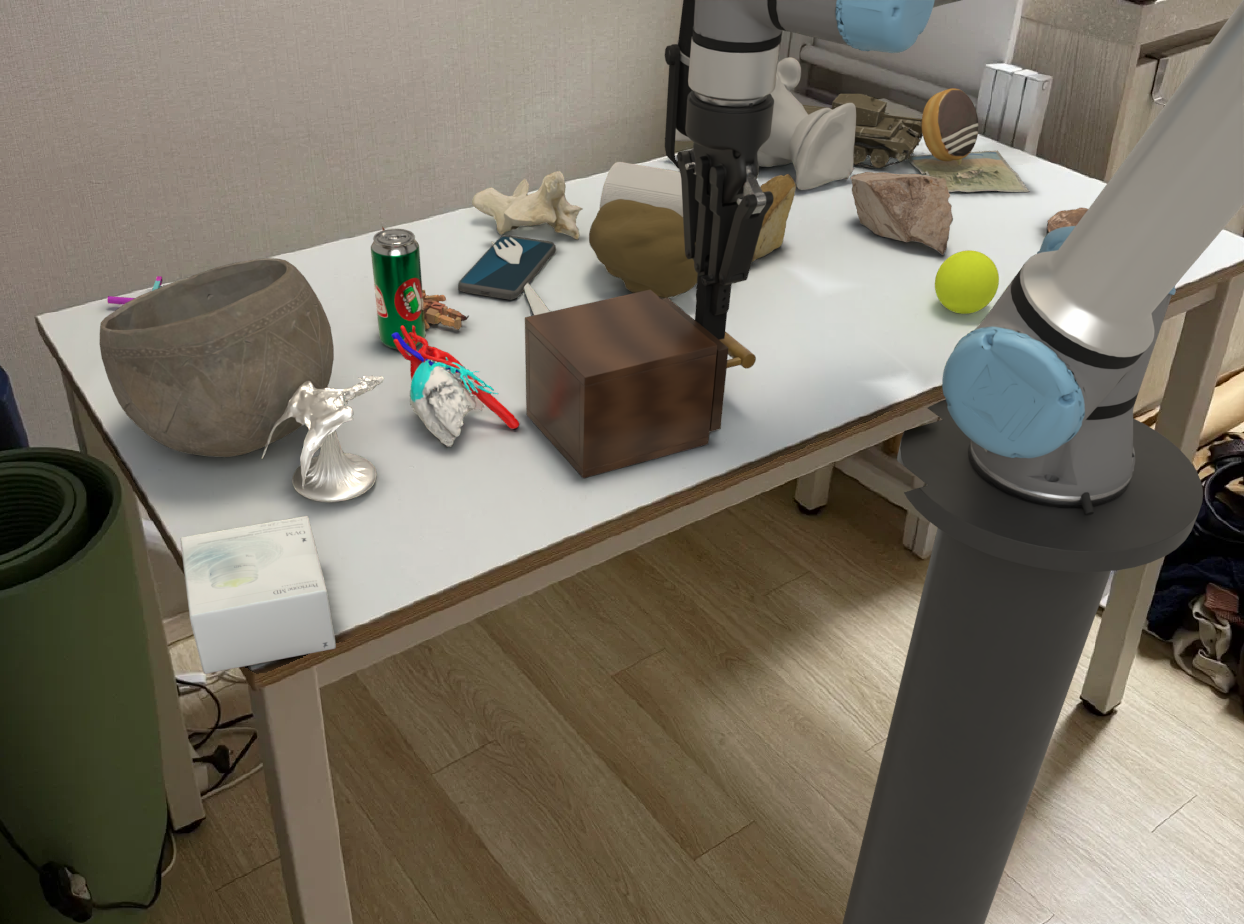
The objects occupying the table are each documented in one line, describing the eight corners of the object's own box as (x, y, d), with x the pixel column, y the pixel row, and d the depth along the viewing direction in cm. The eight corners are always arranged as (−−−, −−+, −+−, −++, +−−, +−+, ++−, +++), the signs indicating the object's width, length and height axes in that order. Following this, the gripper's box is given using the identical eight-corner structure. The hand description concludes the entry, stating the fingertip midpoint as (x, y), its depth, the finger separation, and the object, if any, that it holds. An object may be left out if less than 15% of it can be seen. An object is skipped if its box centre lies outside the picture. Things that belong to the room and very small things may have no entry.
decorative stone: (549, 242, 150) (591, 164, 148) (610, 277, 158) (651, 204, 156) (633, 294, 139) (680, 211, 137) (694, 329, 147) (739, 251, 145)
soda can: (380, 330, 142) (370, 227, 134) (425, 329, 142) (418, 225, 134) (379, 352, 138) (368, 247, 130) (426, 351, 138) (418, 246, 130)
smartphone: (558, 249, 158) (558, 242, 158) (515, 301, 147) (515, 294, 147) (501, 240, 160) (501, 233, 160) (455, 291, 149) (454, 284, 149)
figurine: (263, 488, 118) (247, 398, 112) (367, 440, 124) (357, 353, 118) (311, 524, 114) (297, 433, 108) (417, 473, 120) (409, 384, 114)
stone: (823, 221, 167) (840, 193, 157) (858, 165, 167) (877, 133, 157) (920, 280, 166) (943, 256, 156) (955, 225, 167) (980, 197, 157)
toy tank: (781, 130, 192) (788, 61, 185) (931, 152, 184) (943, 80, 178) (759, 151, 185) (766, 80, 178) (914, 175, 177) (926, 101, 171)
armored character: (449, 349, 141) (375, 324, 144) (477, 320, 145) (405, 296, 148) (444, 253, 132) (366, 228, 135) (475, 225, 136) (398, 202, 139)
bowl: (261, 485, 110) (195, 319, 104) (105, 487, 122) (36, 338, 115) (398, 390, 125) (348, 240, 118) (248, 400, 136) (194, 263, 129)
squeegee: (91, 343, 138) (139, 346, 139) (90, 336, 138) (138, 340, 139) (118, 278, 150) (162, 281, 151) (118, 272, 149) (161, 275, 150)
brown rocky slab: (1129, 270, 155) (1138, 242, 153) (1029, 243, 161) (1036, 216, 159) (1158, 238, 162) (1167, 211, 160) (1061, 214, 168) (1068, 187, 166)
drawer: (706, 364, 135) (712, 286, 129) (766, 416, 127) (776, 336, 121) (554, 402, 129) (554, 322, 123) (607, 459, 121) (610, 376, 115)
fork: (563, 323, 142) (565, 336, 143) (510, 223, 158) (512, 236, 160) (535, 330, 141) (537, 344, 143) (485, 230, 158) (487, 243, 159)
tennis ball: (1004, 317, 146) (1018, 259, 141) (956, 329, 143) (969, 271, 139) (964, 292, 150) (977, 235, 146) (916, 303, 148) (928, 246, 144)
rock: (744, 264, 150) (816, 238, 153) (720, 193, 149) (792, 169, 152) (710, 284, 161) (777, 260, 163) (687, 218, 160) (756, 195, 162)
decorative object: (609, 215, 156) (592, 139, 157) (513, 219, 151) (496, 141, 152) (573, 260, 167) (557, 189, 168) (483, 265, 163) (467, 192, 164)
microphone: (734, 180, 176) (756, -60, 156) (778, 225, 164) (808, -28, 145) (625, 191, 173) (634, -53, 153) (663, 238, 161) (677, -19, 142)
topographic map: (1029, 192, 174) (1032, 180, 173) (932, 195, 173) (935, 183, 172) (997, 154, 184) (1000, 142, 183) (905, 156, 183) (907, 145, 182)
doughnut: (978, 85, 176) (985, 160, 178) (956, 91, 179) (963, 165, 181) (935, 87, 171) (943, 164, 173) (913, 94, 174) (921, 170, 176)
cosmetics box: (307, 510, 104) (328, 590, 97) (317, 571, 109) (338, 651, 101) (177, 533, 102) (188, 617, 95) (192, 594, 106) (204, 679, 99)
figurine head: (881, 139, 181) (734, 51, 184) (896, 91, 167) (737, -2, 170) (810, 243, 180) (664, 153, 184) (819, 203, 167) (661, 108, 170)
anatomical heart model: (463, 479, 132) (352, 380, 128) (513, 421, 133) (404, 321, 129) (489, 471, 119) (367, 361, 116) (543, 407, 120) (424, 296, 117)
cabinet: (645, 384, 133) (650, 289, 126) (708, 444, 125) (717, 345, 118) (526, 414, 129) (524, 316, 122) (583, 478, 120) (584, 377, 113)
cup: (593, 212, 154) (687, 228, 151) (617, 146, 156) (710, 161, 152) (609, 250, 163) (698, 267, 159) (631, 188, 164) (719, 203, 161)
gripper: (810, 109, 107) (777, 359, 122) (728, 64, 116) (707, 303, 131) (734, 122, 104) (710, 376, 120) (656, 75, 113) (643, 317, 128)
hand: (708, 337), depth 125 cm, fingers closed
